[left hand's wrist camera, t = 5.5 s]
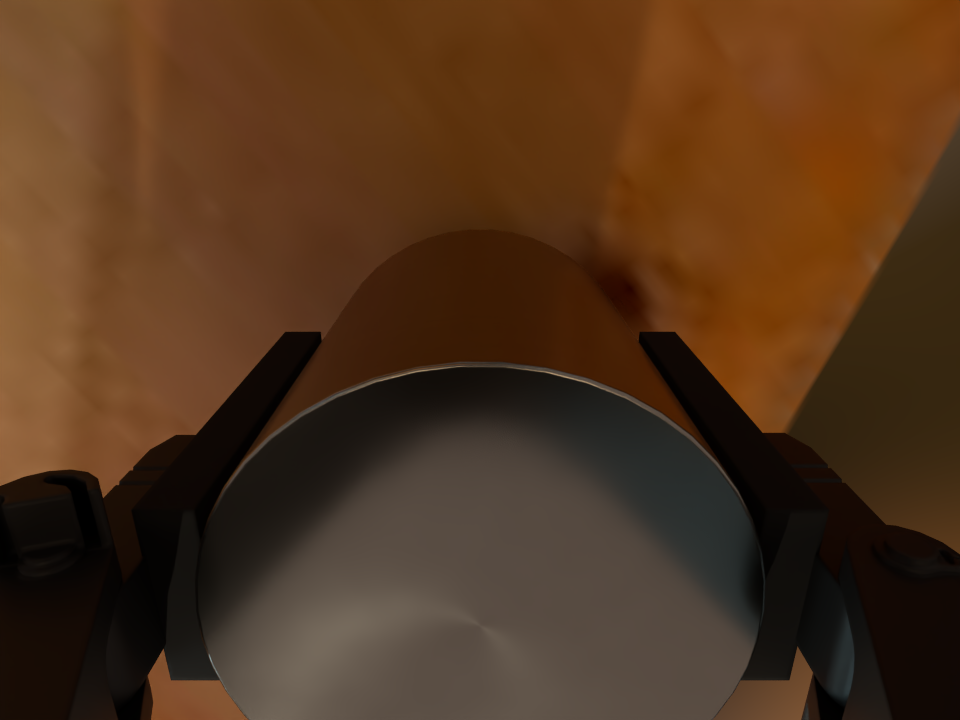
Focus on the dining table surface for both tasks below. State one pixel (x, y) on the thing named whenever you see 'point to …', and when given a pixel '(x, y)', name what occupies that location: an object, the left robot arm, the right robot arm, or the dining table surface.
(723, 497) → the can
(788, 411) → the dining table surface
